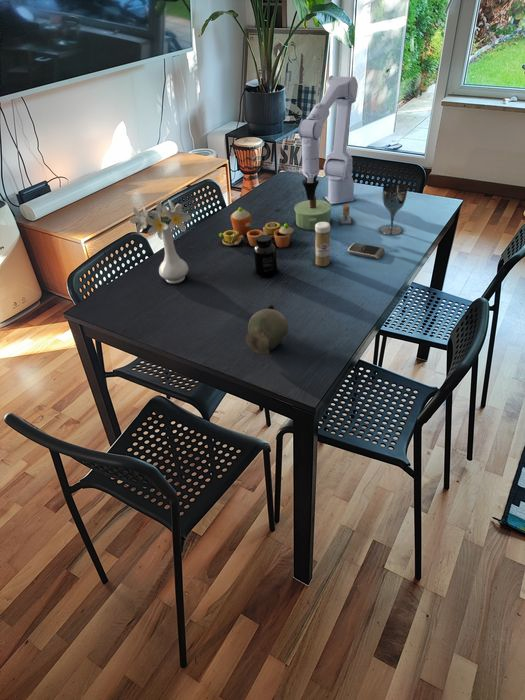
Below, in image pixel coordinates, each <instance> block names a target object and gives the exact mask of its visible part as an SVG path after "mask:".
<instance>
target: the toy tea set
mask: <svg viewBox="0 0 525 700" xmlns="http://www.w3.org/2000/svg"><path fill="white" fill-rule="evenodd" d="M230 221H231V224H232V228H233V229H229V230H226V231H224V232H220V233H219V234H218V236H219V237H220V238H223V239H222V241H221V242H222V244H223V245H225V246H236V245H237V246H238V245H239V244H240V243H242V240H243V239H245V236H247V240H248V244H249V246H251V247H255V246H256V238H257V237H258V236H260V235H270V236H271V237H272V238H274V242H275V245H276V247H278V248H287V247H289V245H290V242H291V235H292V234H293V232H294V228H293V227H291V226H289V224H288V223H284V224H283V225H281V224H280V222H276V221H270V222H268V223H265V225H264V226H262V230H261V229H251V227H252V214H251V213H250V212H249V211H247V210H246V209H243V208H242V207H241V206H240V207H238V208H237V210H234V212H233V213H231V215H230Z"/></svg>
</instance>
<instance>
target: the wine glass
mask: <svg viewBox="0 0 525 700" xmlns="http://www.w3.org/2000/svg"><path fill="white" fill-rule="evenodd" d="M407 196H408V187H407V186H406V185H403V184H397V183H393V184H386V185H384V186H383V187H382V204H383V206H384V208H385V209H386V210H387V212H388V213H389V214H390V225H386V226H383V227H382V228H381V229H380V232H381V233H382V234H385V235H388V236H394V235H399V234H401V233H402V232H403V229H402V228H401V227H399V226H397V225H394V220H395V216H396V214H397V213H398V212H399V211H400V210H401V209H402V208H403V207H404V205H405V202H406V199H407Z"/></svg>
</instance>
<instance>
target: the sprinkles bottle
mask: <svg viewBox="0 0 525 700" xmlns="http://www.w3.org/2000/svg"><path fill="white" fill-rule="evenodd" d="M314 232H315V261H314V262H315V265H316V266H319V267H326V266H328V265H330V251H331V250H330V245H331V244H330V241H331V239H330V232H331V224H329V223H327V222H319V223H317V224H316V225H315V230H314Z"/></svg>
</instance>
